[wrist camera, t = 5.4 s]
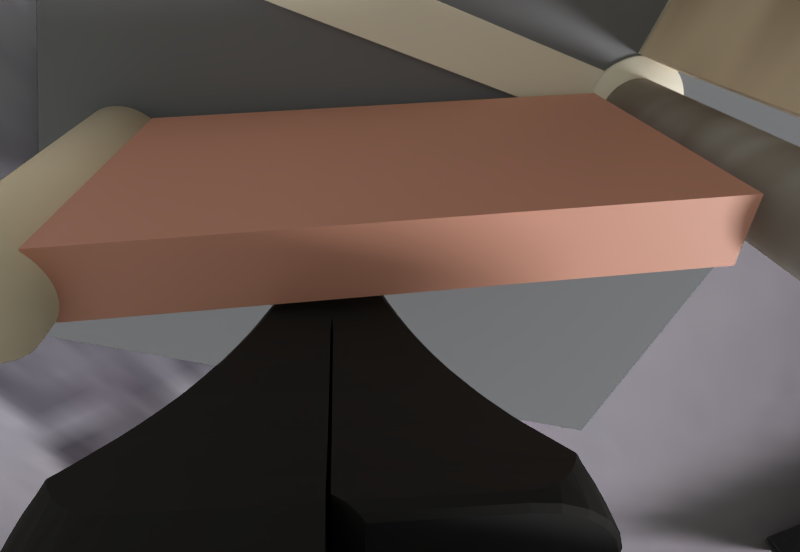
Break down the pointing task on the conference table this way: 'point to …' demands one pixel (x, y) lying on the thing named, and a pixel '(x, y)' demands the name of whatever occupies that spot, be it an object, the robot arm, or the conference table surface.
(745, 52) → the fence base
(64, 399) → the conference table surface
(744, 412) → the conference table surface
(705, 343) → the conference table surface
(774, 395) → the conference table surface
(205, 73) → the card
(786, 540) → the ammunition clip
